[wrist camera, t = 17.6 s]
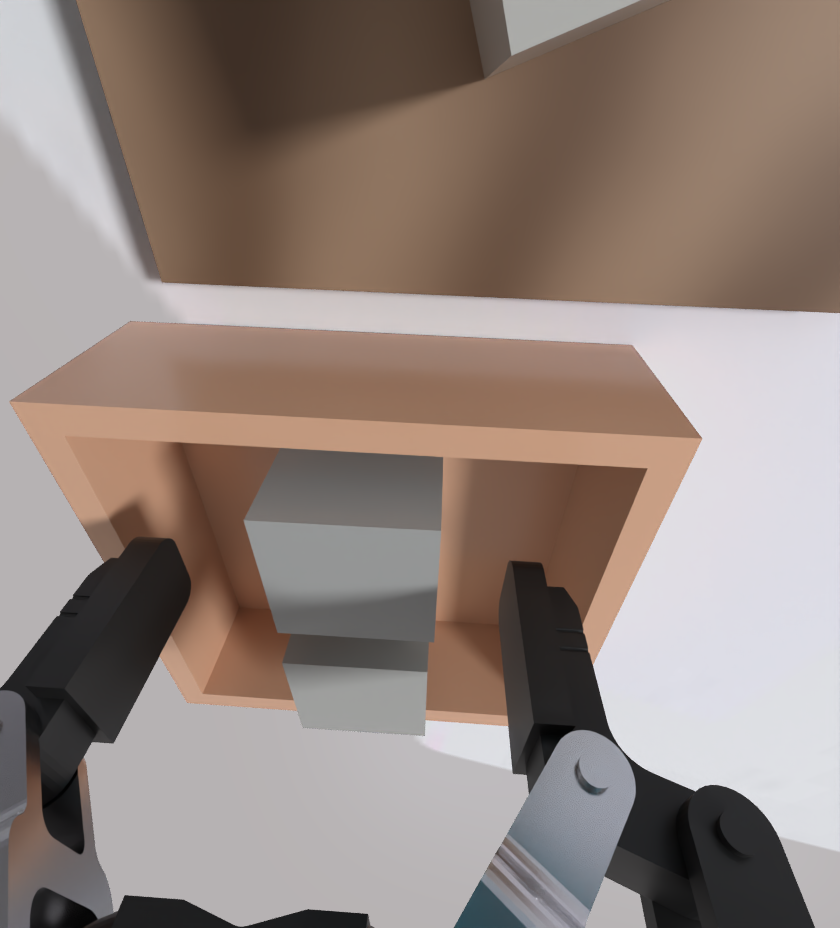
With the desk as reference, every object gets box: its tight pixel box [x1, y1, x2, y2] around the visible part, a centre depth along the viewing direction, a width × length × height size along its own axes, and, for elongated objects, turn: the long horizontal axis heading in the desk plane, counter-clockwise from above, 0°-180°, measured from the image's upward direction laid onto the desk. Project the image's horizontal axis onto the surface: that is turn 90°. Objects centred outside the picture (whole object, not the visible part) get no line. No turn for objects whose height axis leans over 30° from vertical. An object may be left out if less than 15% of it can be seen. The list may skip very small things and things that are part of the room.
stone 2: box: [282, 634, 429, 736], centre depth 16 cm, size 4×4×5 cm
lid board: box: [76, 0, 840, 313], centre depth 8 cm, size 17×10×1 cm, turn 88°
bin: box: [10, 321, 702, 726], centre depth 15 cm, size 14×13×4 cm
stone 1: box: [244, 448, 443, 642], centre depth 13 cm, size 4×4×5 cm
